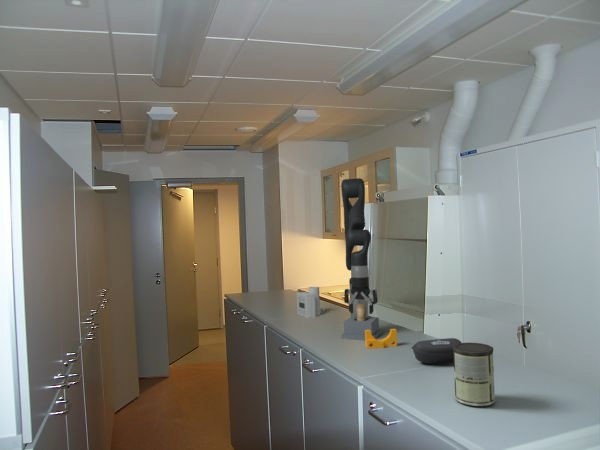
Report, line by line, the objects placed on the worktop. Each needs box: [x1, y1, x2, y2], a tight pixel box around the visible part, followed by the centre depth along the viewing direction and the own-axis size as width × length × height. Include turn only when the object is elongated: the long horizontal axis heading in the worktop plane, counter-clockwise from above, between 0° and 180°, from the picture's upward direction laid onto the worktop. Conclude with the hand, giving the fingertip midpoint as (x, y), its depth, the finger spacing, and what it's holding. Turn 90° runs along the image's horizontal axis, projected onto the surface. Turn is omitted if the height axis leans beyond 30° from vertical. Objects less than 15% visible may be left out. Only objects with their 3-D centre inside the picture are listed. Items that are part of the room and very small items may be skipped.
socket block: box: [340, 316, 383, 341], centre depth 209 cm, size 15×14×7 cm
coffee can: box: [453, 342, 496, 407], centre depth 130 cm, size 10×10×14 cm
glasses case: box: [411, 337, 462, 365], centre depth 166 cm, size 18×10×8 cm, turn 103°
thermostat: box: [296, 286, 327, 319], centre depth 260 cm, size 12×14×15 cm
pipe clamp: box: [364, 328, 398, 350], centre depth 189 cm, size 12×4×6 cm, turn 92°
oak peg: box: [356, 303, 366, 321], centre depth 209 cm, size 4×4×12 cm
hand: (361, 313), depth 209 cm, fingers open, 8 cm apart
